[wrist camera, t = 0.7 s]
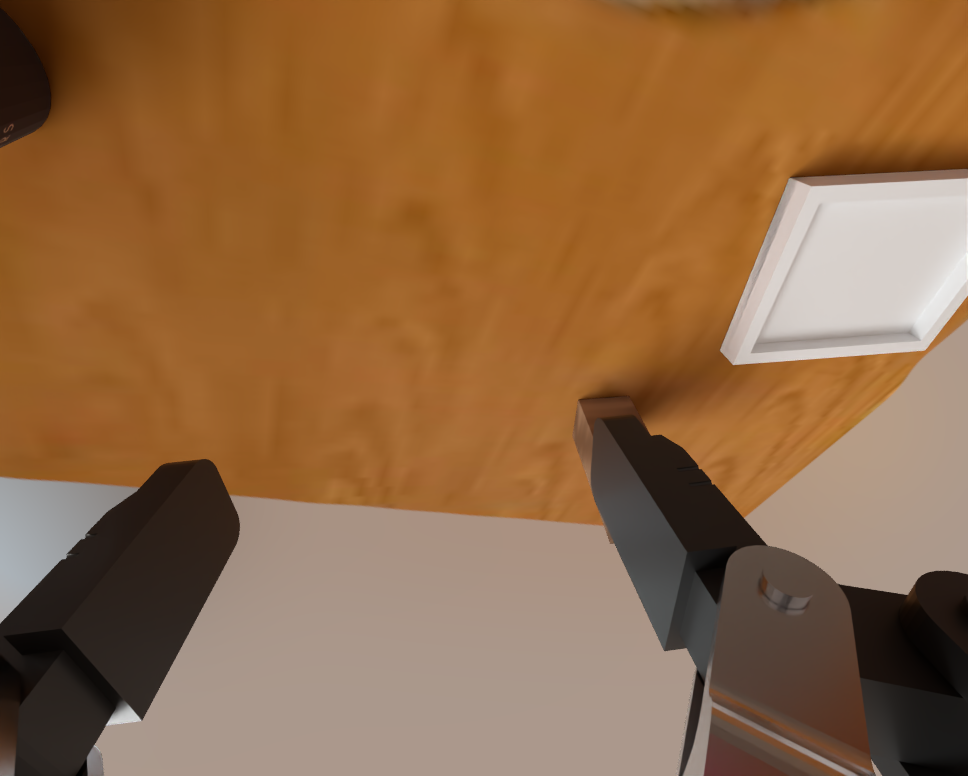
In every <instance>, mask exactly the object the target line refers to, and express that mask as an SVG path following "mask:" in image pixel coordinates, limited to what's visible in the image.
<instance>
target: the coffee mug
mask: <svg viewBox="0 0 968 776" xmlns="http://www.w3.org/2000/svg"><path fill="white" fill-rule="evenodd" d="M50 104H51V93H50V88H49V83H48V79H47V76H46V73H45V71H44V68H43V65H42V63H41V61H40V59H39V57H38V56H37V54H36V52H35V50H34V48H33V46H32V45H31V44H30V42H29V41H28V39H27V38H26V37H25V35H24V34H23V32H22V31H21V30H20V28H19V27H18V26H17V25H16V24H15V23H14V22H13V20H12V19H11V18H10V17H9V16H8V15H7V14H6V13H5V11H3V10H2V9H1V8H0V148H1V147H3V146H5V145H7V144H9V143H11V142H14V141H16V140H18V139H20V138H22V137H24V136H26V135H28V134H30V133H32V132H34V131H35V130H37V129H38V128H40V127H41V126H42V124H43V123H44V122H45V120H46V119H47V117H48V114H49V110H50Z"/></svg>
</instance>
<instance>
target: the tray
mask: <svg viewBox="0 0 968 776" xmlns="http://www.w3.org/2000/svg"><path fill="white" fill-rule="evenodd" d="M967 296H968V169H954V170H934V171H915V172H895V173H875V174H856V175H836V176H816V177H796V178H789V180H788V183H787V185H786V188H785V190H784V193H783V195H782V198H781V200H780V203H779V205H778V208H777V210H776V213H775V215H774V218H773V220H772V222H771V225H770V227H769V230H768V232H767V235H766V237H765V240H764V242H763V245H762V247H761V250H760V252H759V255H758V257H757V260H756V262H755V265H754V267H753V270H752V272H751V275H750V277H749V279H748V282H747V284H746V287H745V289H744V292H743V294H742V297H741V299H740V302H739V304H738V307H737V309H736V312H735V314H734V317H733V319H732V322H731V324H730V327H729V329H728V331H727V334H726V336H725V339H724V341H723V344H722V346H721V349H720V351H721V352H722V353H723V354H724V356H725V357H726V358H727V359H728V360H729V361H730V362H731V363H732V364H733V365H740V364H753V363H766V362H779V361H792V360H805V359H819V358H832V357H845V356H858V355H871V354H885V353H898V352H911V351H924V350H926V348H927V347H928V346H929V345H930V343H931V342H932V341H933V339H934V338H935V337H936V336H937V334H938V333H939V332H940V330H941V329H942V328H943V327H944V325H945V324H946V323H947V322H948V320H949V319H950V318H951V316H952V315H953V314H954V313H955V311H956V310H957V309H958V307H959V306H960V305H961V304H962V302H963V301H964V300H965V298H966V297H967Z"/></svg>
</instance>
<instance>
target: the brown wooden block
mask: <svg viewBox="0 0 968 776" xmlns="http://www.w3.org/2000/svg"><path fill="white" fill-rule="evenodd" d="M629 414H632V415H634V416H636V418H637V419H638V420H639V421H640V423H641V424H642V425H643V426H644V428H645V429H646V430H647V428H646V426H645V424H644V423H643V421H642V419H641V417H640V415H639V413H638V412H637V410H636V408H635V406H634V404H633V402H632V401H631V399H630V397H629V396H622V397H609V398H596V399H583V400H578V405H577V411H576V418H575V424H574V430H573V439H574V441H575V444H576V447H577V450H578V453H579V456H580V459H581V461H582V464H583V467H584V470H585V473H586V476H587V479H588V482H589V484H590V487H591V461H592V446H593V431H594V423H595V420H596V419H597V418H601V417H611V416H620V415H629ZM647 432H648V430H647ZM648 433H649V432H648ZM591 490H592V487H591ZM592 493H593V492H592ZM598 510H599V509H598ZM599 513H600V511H599ZM600 516H601V514H600ZM601 519H602V522H603V524H604V527H605V530H606V533H607V536H608V539H609V541H610V544H613V543H614V542H613V539H612V537H611V535H610V533H609V531H608V529H607V526H606V524H605V522H604V520H603V518H602V516H601Z"/></svg>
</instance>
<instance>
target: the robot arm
mask: <svg viewBox="0 0 968 776" xmlns="http://www.w3.org/2000/svg"><path fill="white" fill-rule="evenodd" d="M591 487H592V492H593V496H594V500H595V503H596V505H597V507H598V509H599V511H600V514H601V516H602V518H603V520H604V522H605V524H606V526H607V529H608V531H609V533H610V535H611V537H612V539H613V542H614V544H615V546H616V548H617V550H618V552H619V554H620V557H621V559H622V561H623V563H624V565H625V567H626V569H627V572H628V574H629V576H630V578H631V580H632V582H633V585H634V587H635V589H636V591H637V593H638V595H639V598H640V599H641V602H642V604H643V606H644V608H645V611H646V612H647V614H648V617H649V619H650V621H651V623H652V625H653V628H654V630H655V632H656V634H657V636H658V638H659V641H660V643H661V645H662V647H663V649H664V651H668V650H676V649H683V648H687V649H688V651H689V653H690V655H691V657H692V659H693V661H694V663H695V665H696V669H695V672H694V676H693V682H692V688H691V694H690V699H689V705H688V710H687V716H686V722H685V727H684V733H683V739H682V745H681V750H680V756H679V762H678V767H677V773H676V776H876V775H875V772H874V770H873V766H872V762H871V759H872V761H873V762H874V764H875V765H876V767H877V768H878V770H879V771H880V773H881V774H882V776H968V574H963V573H959V572H951V571H934V572H929V573H926V574H924V575H922V576H921V577H920V578H918V580H917V581H916V583H915V585H914V586H913V588H912V589H911V591H910V593H909V594H908V595H904V594H897V593H891V592H884V591H877V590H871V589H864V588H858V587H851V586H845V585H840V584H837V583H836V582H835V581H834V580H833V579H832V578H831V577H830V576H829V575H828V574H827V573H826V572H825V571H823V570H822V569H821V568H819V567H818V566H816V565H815V564H814V563H812V562H810V561H808V560H807V559H805V558H803V557H801V556H799V555H797V554H795V553H792V552H789V551H787V550H783V549H780V548H776V547H770V546H767V545H766V543H765V542H764V541H763V540H762V539H761V538H760V536H759V535H758V534H757V533H756V532H755V531H754V530H753V529H752V527H751V526H750V525H749V524H748V523H747V521H745V519H744V518H743V517H742V516H741V514H740V513H739V512H738V511H737V510H736V509H735V508H734V506H733V505H732V504H731V503H730V502H729V501H728V499H727V498H726V497H725V496H724V495H723V494H722V493H721V491H720V490H719V489H718V488H717V487H716V486H715V484H714V485H712V483H711V480H710V479H709V477H708V476H707V475H706V474H705V473H704V472H703V471H702V469H699V468H698V465H697V464H696V462H695V461H694V460H693V459H692V458H691V457H690V455H689V454H688V453H687V452H686V451H685V450H684V449H683V448H682V447H680V446H679V445H677V444H675V443H674V442H672V441H670V440H669V439H667V438H666V437H664V436H662V435H654V436H651V435H650V434H649V433H648V432H647V430H646V429H645V428H644V426H643V425H642V424H641V423H640V421H639V420H638V419H637V418H636V416H634V415H632V414H629V415H620V416H611V417H601V418H597V419H596V420H595V423H594V431H593V446H592V461H591ZM239 531H240V523H239V517H238V514H237V511H236V509H235V507H234V505H233V503H232V501H231V498H230V496H229V494H228V492H227V490H226V487H225V485H224V483H223V481H222V479H221V476H220V474H219V472H218V470H217V468H216V466H215V465H214V463H213V462H211V461H210V460H207V459H201V460H192V461H183V462H174V463H166V464H163V465H162V466H160V467H159V468H158V469H157V470H156V471H155V472H154V473H153V474H152V475H151V476H150V478H149V479H148V480H147V481H146V482H145V483H144V484H143V485H142V486H141V487H140V488H139V489H138V491H137V492H135V493H134V494H132V495H131V496H129V497H128V498H127V499H125V500H124V501H122V502H121V503H119V504H118V505H117V506H115V507H114V508H112V509H111V510H109V511H108V512H107V513H106V514H105V515H104V516H103V517H102V518H101V519H100V520H99V521H98V522H97V523H96V524H95V525H94V526H93V527H92V528H91V529H90V531H88V533H87V534H86V538H85V539H81V540H80V541H79V542H78V543H77V544H76V545H75V546H74V547H73V548H72V550H70V551H69V552H68V553H67V558H66V559H63V560H61V561H60V562H59V563H58V564H57V565H56V566H55V567H54V568H53V569H52V570H51V571H50V572H49V573H48V574H47V575H46V576H45V577H44V579H42V581H41V582H40V583H39V584H38V585H37V586H36V587H35V588H34V589H33V590H32V591H31V592H30V593H29V594H28V595H27V596H26V597H25V598H24V599H23V600H22V601H21V602H20V604H19V605H18V606H17V607H16V608H15V609H14V610H13V611H12V612H11V613H10V614H9V615H8V616H7V617H6V618H5V619H4V620H3V621H2V622H1V624H0V776H104V772H103V759H102V754H101V752H100V750H99V749H98V747H96V745H95V743H96V741H97V740H98V738H99V736H100V735H101V733H102V731H103V730H104V728H105V726H106V725H114V724H122V723H129V722H136V721H142V720H143V718H144V716H145V714H146V712H147V710H148V709H149V707H150V705H151V703H152V701H153V699H154V697H155V695H156V693H157V692H158V690H159V688H160V686H161V684H162V682H163V680H164V679H165V677H166V675H167V673H168V671H169V669H170V667H171V665H172V664H173V662H174V660H175V658H176V656H177V654H178V652H179V650H180V649H181V647H182V645H183V643H184V641H185V639H186V638H187V636H188V634H189V632H190V630H191V628H192V626H193V624H194V622H195V621H196V619H197V617H198V615H199V613H200V611H201V609H202V608H203V606H204V604H205V602H206V600H207V598H208V596H209V595H210V593H211V591H212V589H213V587H214V585H215V583H216V581H217V580H218V578H219V576H220V574H221V572H222V570H223V568H224V566H225V565H226V563H227V561H228V559H229V557H230V555H231V553H232V552H233V550H234V548H235V546H236V544H237V541H238V537H239Z"/></svg>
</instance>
